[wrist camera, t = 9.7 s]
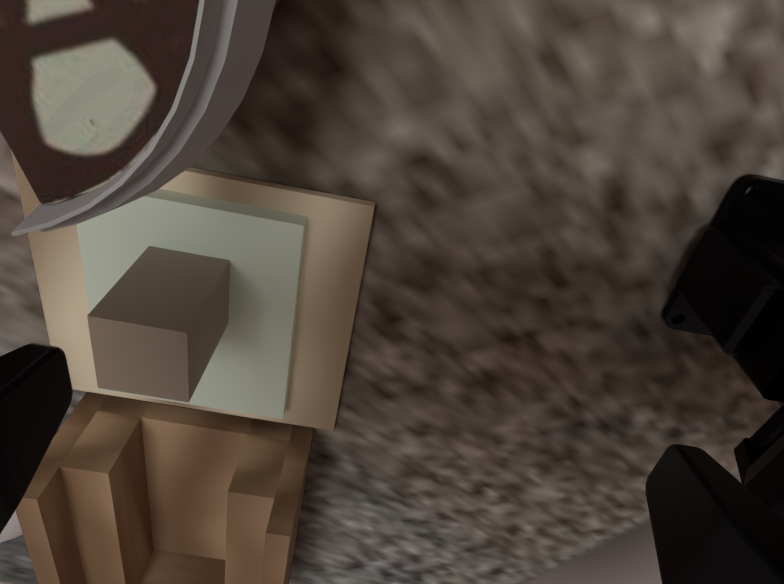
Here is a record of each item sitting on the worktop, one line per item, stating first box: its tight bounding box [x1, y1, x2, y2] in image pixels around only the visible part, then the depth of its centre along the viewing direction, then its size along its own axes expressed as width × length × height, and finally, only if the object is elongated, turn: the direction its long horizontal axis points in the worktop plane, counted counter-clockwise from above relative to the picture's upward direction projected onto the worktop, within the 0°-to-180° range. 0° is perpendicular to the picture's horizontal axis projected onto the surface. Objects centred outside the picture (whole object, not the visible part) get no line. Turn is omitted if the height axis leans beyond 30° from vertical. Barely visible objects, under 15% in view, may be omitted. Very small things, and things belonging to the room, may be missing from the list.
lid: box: [76, 189, 308, 419], centre depth 20 cm, size 8×10×5 cm
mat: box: [11, 150, 375, 431], centre depth 23 cm, size 13×12×1 cm
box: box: [15, 392, 313, 584], centre depth 27 cm, size 11×12×6 cm
